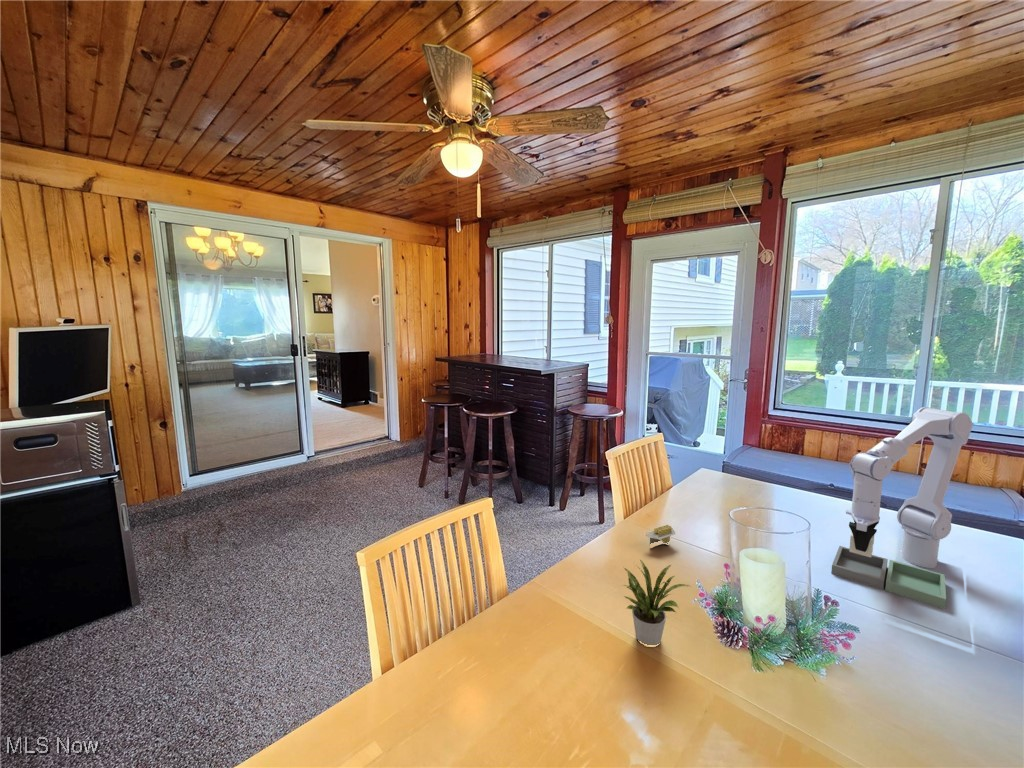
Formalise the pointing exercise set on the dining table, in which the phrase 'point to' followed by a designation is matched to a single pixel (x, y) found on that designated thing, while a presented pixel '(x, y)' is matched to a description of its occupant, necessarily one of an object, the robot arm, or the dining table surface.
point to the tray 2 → (916, 583)
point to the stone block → (867, 553)
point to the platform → (661, 534)
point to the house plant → (650, 606)
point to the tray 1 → (860, 567)
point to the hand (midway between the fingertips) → (861, 546)
